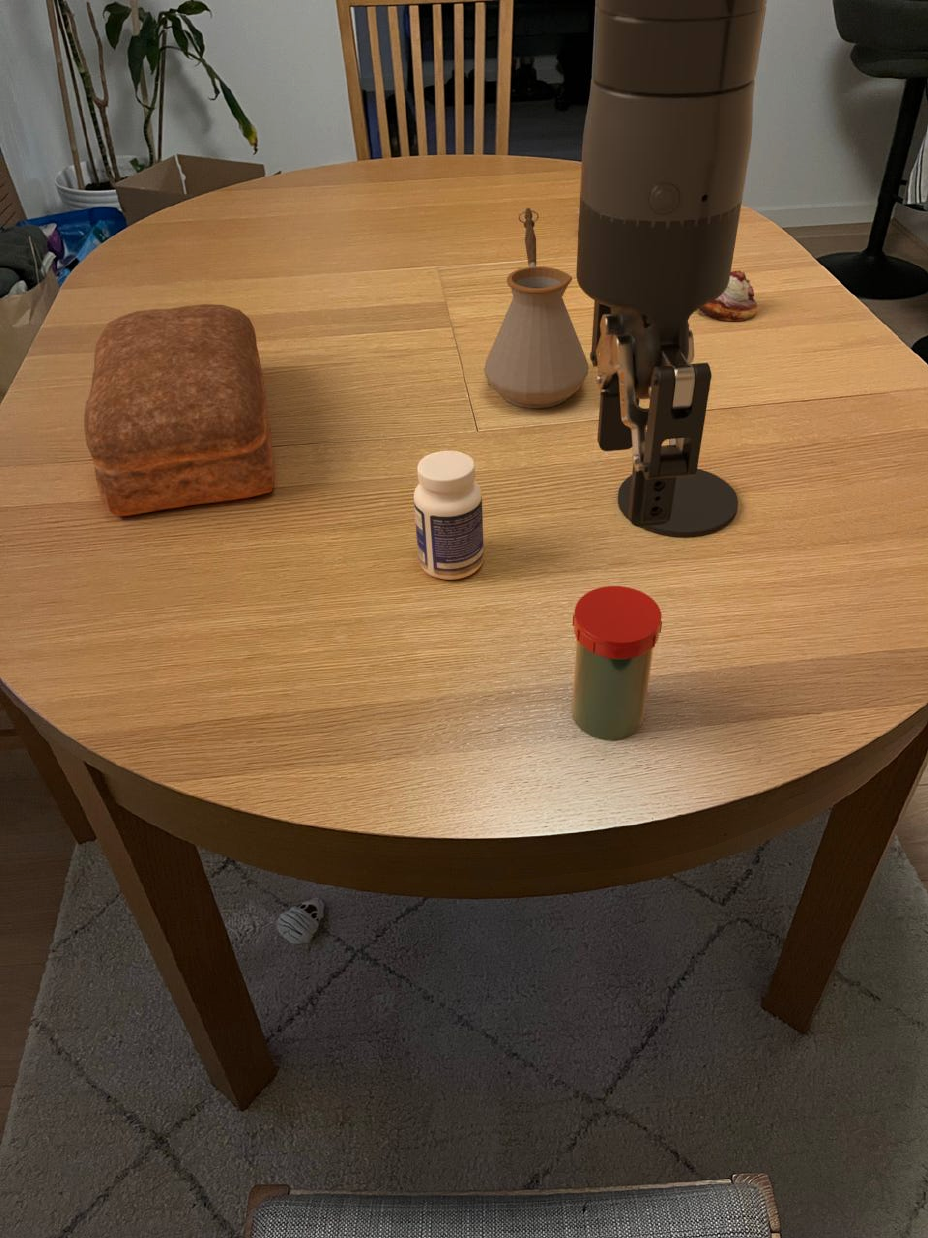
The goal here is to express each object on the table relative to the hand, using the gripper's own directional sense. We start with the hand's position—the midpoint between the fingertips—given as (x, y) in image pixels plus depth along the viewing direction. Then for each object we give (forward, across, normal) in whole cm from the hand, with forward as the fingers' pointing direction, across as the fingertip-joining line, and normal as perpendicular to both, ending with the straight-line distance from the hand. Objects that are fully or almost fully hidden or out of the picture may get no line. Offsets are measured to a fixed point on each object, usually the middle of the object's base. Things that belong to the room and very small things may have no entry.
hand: (631, 482), depth 54 cm
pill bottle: (+20, +19, +10) cm, 30 cm away
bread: (+20, +45, +35) cm, 60 cm away
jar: (+20, 0, 0) cm, 20 cm away
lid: (+11, 0, 0) cm, 11 cm away
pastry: (+20, +66, -30) cm, 75 cm away
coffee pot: (+20, +54, -3) cm, 57 cm away
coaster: (+20, +25, -12) cm, 34 cm away
